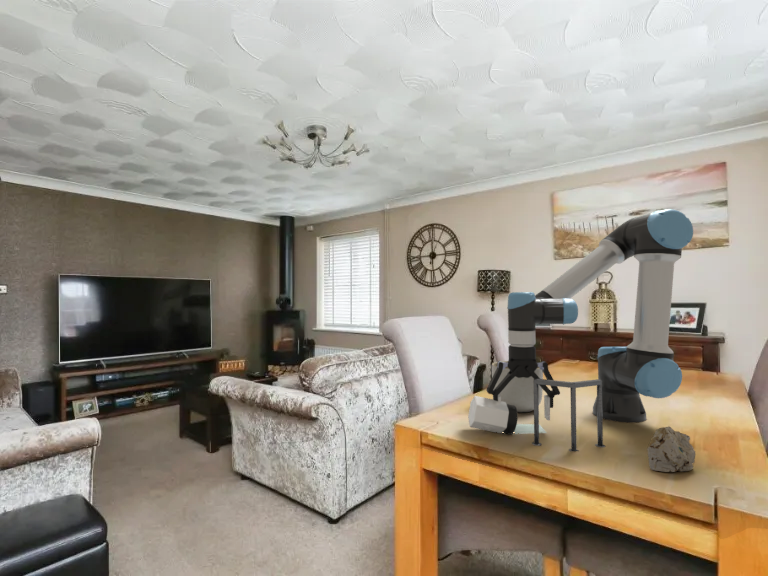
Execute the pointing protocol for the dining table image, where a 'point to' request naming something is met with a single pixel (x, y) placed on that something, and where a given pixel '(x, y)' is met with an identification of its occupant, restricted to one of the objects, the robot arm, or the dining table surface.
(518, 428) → the pad
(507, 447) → the dining table surface
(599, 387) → the metal railing
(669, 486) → the dining table surface
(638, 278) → the robot arm
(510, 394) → the planter
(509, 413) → the jar
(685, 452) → the rock
